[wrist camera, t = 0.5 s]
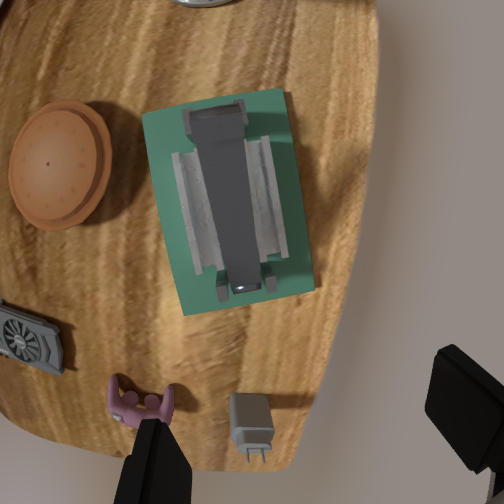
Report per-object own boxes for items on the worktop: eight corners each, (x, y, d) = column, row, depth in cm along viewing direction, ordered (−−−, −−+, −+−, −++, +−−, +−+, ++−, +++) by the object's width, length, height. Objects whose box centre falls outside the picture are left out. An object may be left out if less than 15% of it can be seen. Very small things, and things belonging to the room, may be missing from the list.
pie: (111, 237, 34) (95, 245, 29) (18, 216, 32) (-4, 221, 27) (136, 110, 31) (123, 100, 26) (37, 104, 28) (17, 97, 24)
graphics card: (-13, 361, 33) (-26, 298, 30) (-2, 351, 36) (-13, 290, 34) (64, 394, 35) (54, 328, 32) (73, 380, 38) (66, 316, 36)
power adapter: (230, 392, 40) (234, 454, 28) (268, 394, 40) (281, 455, 29) (228, 407, 40) (231, 469, 29) (264, 409, 41) (276, 469, 29)
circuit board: (144, 116, 31) (141, 114, 30) (280, 91, 31) (282, 88, 30) (185, 311, 36) (184, 316, 35) (312, 287, 37) (315, 290, 36)
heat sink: (169, 126, 30) (158, 115, 25) (259, 109, 31) (266, 95, 25) (202, 286, 34) (198, 306, 29) (287, 270, 35) (299, 286, 29)
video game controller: (115, 384, 40) (106, 423, 34) (109, 370, 37) (98, 413, 31) (177, 395, 41) (172, 436, 35) (175, 382, 38) (170, 428, 33)
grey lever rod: (189, 110, 17) (189, 121, 15) (237, 101, 17) (242, 111, 16) (231, 287, 31) (234, 303, 29) (260, 281, 31) (264, 297, 29)
